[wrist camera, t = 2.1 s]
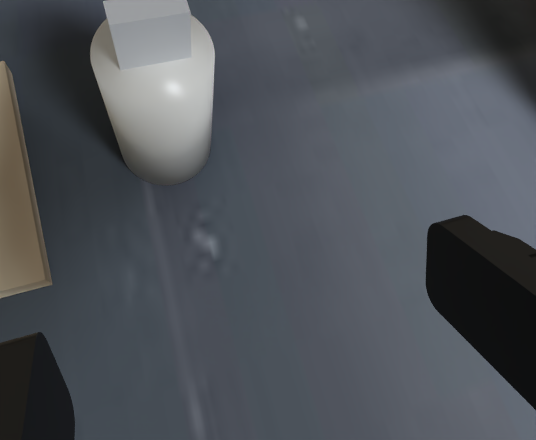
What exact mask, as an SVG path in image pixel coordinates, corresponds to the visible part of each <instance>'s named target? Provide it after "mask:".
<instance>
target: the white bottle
mask: <svg viewBox="0 0 536 440" xmlns="http://www.w3.org/2000/svg"><path fill="white" fill-rule="evenodd" d="M103 4H104V8H105V12H106V16H107V19H106V20H105V21H104V22H103V23H102V24H101V25H100V27H99V28H98V30H97V31H96V33H95V35H94V37H93V40H92V43H91V49H90V59H91V65H92V68H93V71H94V74H95V77H96V80H97V83H98V86H99V89H100V92H101V94H102V97H103V100H104V103H105V106H106V109H107V112H108V115H109V118H110V121H111V124H112V127H113V130H114V133H115V136H116V139H117V142H118V145H119V148H120V151H121V154H122V157H123V160H124V162H125V164H126V165H127V167H128V168H129V169H130V170H131V171H132V172H133V173H134V174H135V175H136V176H137V177H139V178H140V179H142V180H144V181H146V182H149V183H152V184H156V185H175V184H179V183H183V182H185V181H187V180H189V179H191V178H193V177H194V176H195V175H197V174H198V173H199V172H200V171H201V170H202V168H203V167H204V166H205V164H206V162H207V160H208V158H209V155H210V150H211V130H212V107H213V84H214V61H215V53H214V46H213V42H212V40H211V37H210V35H209V34H208V32H207V30H206V29H205V28H204V26H203V25H202V24H201V23H200V22H199V21H198V20H197V19H196V18H195V17H193V16H192V15H190V9H189V6H188V3H187V0H109V1H103Z"/></svg>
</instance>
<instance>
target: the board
mask: <svg viewBox="0 0 536 440" xmlns="http://www.w3.org/2000/svg"><path fill="white" fill-rule="evenodd" d="M49 285H53V284H52V279H51V274H50V269H49V264H48V258H47V253H46V248H45V243H44V238H43V232H42V227H41V222H40V217H39V212H38V206H37V201H36V196H35V191H34V185H33V180H32V175H31V170H30V165H29V159H28V154H27V149H26V144H25V139H24V133H23V128H22V123H21V118H20V113H19V107H18V102H17V97H16V92H15V86H14V81H13V76H12V73H11V71H10V70H9V68H8V66H7V65H6V63H5V61H1V62H0V298H3V297H7V296H11V295H15V294H18V293H22V292H26V291H30V290H34V289H38V288H41V287H45V286H49Z"/></svg>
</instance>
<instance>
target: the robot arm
mask: <svg viewBox="0 0 536 440" xmlns="http://www.w3.org/2000/svg"><path fill="white" fill-rule="evenodd" d="M426 289H427V293H428V296H429V298H430V301H431V303H432V304H433V306H434V307H435V309H436V310H437V311H438V312H439V313H440V314H441V315H442V316H443V317H444V318H445V319H446V320H447V321H448V322H449V323H450V324H451V325H452V326H453V327H454V328H455V329H456V330H457V331H458V332H459V333H460V334H461V335H462V336H463V337H464V338H465V339H466V340H467V341H468V342H469V343H470V344H471V345H472V346H473V347H474V348H475V349H476V350H477V351H478V352H479V353H480V354H481V355H482V356H483V357H484V358H485V359H486V360H487V361H488V362H489V363H490V364H491V365H492V366H493V367H494V368H495V369H496V370H497V371H498V372H499V373H500V375H501V376H502V377H503V378H504V379H505V380H506V381H507V382H508V383H509V384H510V385H511V386H512V387H513V388H514V389H515V390H516V391H517V392H518V393H519V394H520V395H521V396H522V397H523V398H524V399H525V400H526V401H527V402H528V403H529V404H530V405H531V406H532V407H533V408H534V409H535V410H536V250H535V249H534V248H532V247H531V246H529V245H528V244H526V243H525V242H523V241H521V240H520V239H517V238H515V237H512V236H509V235H506V234H503V233H500V232H497V231H491V230H489V229H488V228H486V227H485V226H483V225H482V224H480V223H479V222H478V221H476V220H475V219H473V218H472V217H470V216H467V215H462V216H459V217H455V218H451V219H448V220H444V221H441V222H437V223H434V224H432V225H431V226H430V227H429V229H428V235H427V262H426ZM74 435H75V417H74V410H73V404H72V400H71V396H70V393H69V391H68V388H67V386H66V383H65V381H64V379H63V376H62V374H61V372H60V370H59V367H58V365H57V363H56V360H55V358H54V356H53V353H52V351H51V349H50V346H49V344H48V342H47V340H46V338H45V336H44V335H43V334H42V333H41V332H38V333H34V334H31V335H27V336H24V337H20V338H16V339H13V340H9V341H6V342H2V343H0V440H74Z"/></svg>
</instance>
